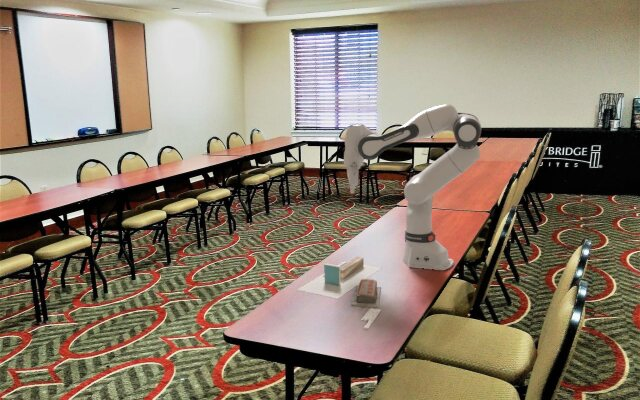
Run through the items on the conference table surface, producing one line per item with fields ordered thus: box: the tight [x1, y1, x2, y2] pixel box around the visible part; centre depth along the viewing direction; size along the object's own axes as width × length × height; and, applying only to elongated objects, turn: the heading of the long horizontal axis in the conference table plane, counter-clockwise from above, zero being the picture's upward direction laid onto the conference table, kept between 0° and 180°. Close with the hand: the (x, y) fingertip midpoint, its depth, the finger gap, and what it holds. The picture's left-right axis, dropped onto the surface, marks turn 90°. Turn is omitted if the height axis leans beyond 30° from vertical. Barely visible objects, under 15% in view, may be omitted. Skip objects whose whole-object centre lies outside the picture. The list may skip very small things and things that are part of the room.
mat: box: [296, 261, 382, 300], centre depth 218 cm, size 19×38×1 cm, turn 148°
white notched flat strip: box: [360, 307, 382, 330], centre depth 181 cm, size 5×15×1 cm, turn 157°
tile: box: [323, 262, 341, 286], centre depth 211 cm, size 7×1×8 cm, turn 58°
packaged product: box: [350, 278, 382, 309], centre depth 198 cm, size 18×5×10 cm
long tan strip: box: [340, 256, 365, 279], centre depth 224 cm, size 3×18×4 cm, turn 148°
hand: (351, 190), depth 236 cm, fingers open, 8 cm apart
